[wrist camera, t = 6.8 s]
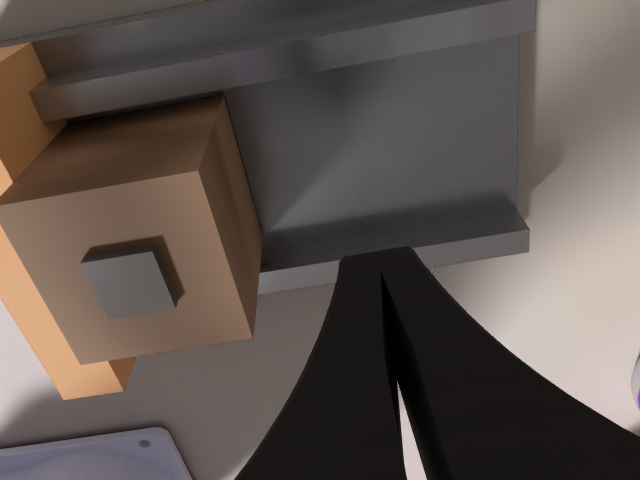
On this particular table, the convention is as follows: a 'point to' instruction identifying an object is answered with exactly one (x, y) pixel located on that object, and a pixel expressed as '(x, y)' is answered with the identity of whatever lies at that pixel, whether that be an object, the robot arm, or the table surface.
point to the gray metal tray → (328, 116)
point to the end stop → (3, 262)
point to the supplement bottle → (636, 384)
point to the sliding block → (140, 232)
